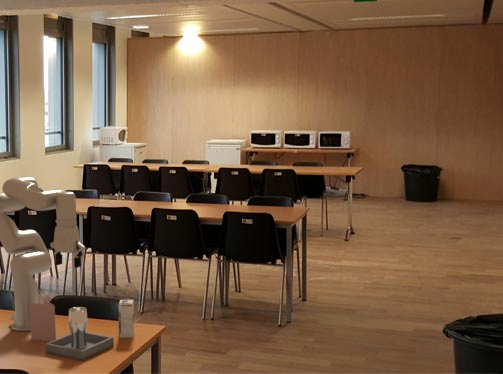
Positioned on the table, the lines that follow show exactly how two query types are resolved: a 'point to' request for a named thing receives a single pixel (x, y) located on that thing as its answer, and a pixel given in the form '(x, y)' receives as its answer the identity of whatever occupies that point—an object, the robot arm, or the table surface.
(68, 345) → the tray
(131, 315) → the syrup box
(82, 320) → the beer glass
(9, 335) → the table surface
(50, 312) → the greeting card
